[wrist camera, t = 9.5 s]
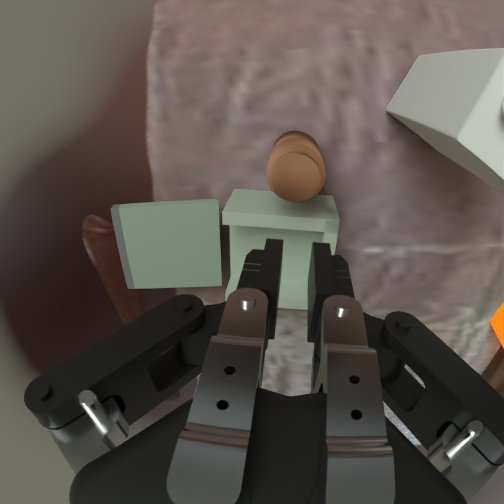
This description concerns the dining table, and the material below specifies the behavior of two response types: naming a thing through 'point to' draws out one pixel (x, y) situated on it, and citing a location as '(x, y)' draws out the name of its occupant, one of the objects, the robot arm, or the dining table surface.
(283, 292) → the crate
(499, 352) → the planter frame
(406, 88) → the milk carton
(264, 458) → the robot arm
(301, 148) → the brown ridged cylinder
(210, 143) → the dining table surface
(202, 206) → the panel
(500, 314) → the orange juice
